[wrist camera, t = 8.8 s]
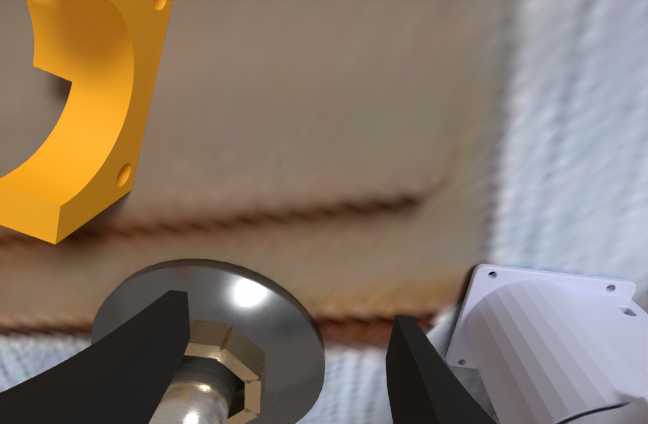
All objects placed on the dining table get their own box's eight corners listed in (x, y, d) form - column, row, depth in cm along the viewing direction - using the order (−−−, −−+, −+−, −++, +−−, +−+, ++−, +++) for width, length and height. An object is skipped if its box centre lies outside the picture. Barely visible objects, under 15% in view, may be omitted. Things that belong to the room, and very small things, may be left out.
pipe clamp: (86, -85, 16) (-59, -155, 10) (183, -39, 17) (97, -81, 11) (57, 159, 21) (-53, 205, 15) (133, 188, 22) (55, 244, 16)
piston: (248, 358, 25) (222, 446, 20) (229, 399, 27) (200, 490, 21) (185, 336, 24) (140, 421, 19) (170, 379, 26) (125, 467, 21)
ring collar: (337, 273, 23) (336, 304, 20) (314, 439, 30) (311, 479, 27) (81, 245, 23) (46, 272, 20) (116, 417, 30) (93, 455, 27)
